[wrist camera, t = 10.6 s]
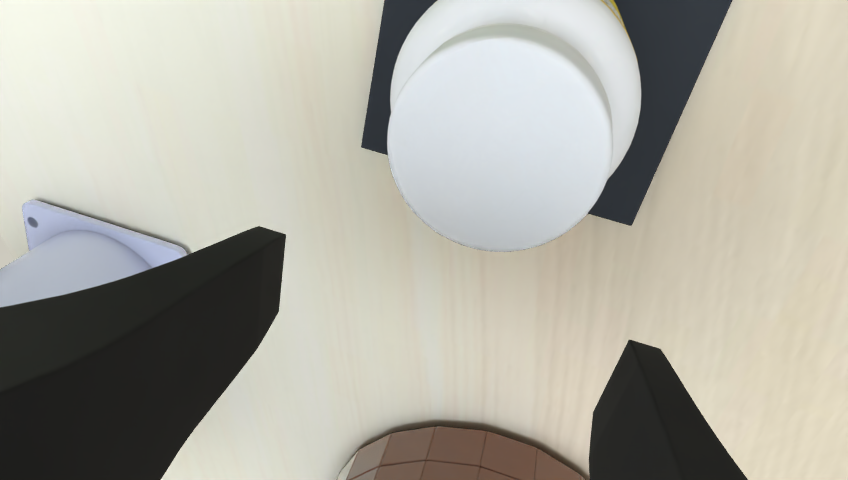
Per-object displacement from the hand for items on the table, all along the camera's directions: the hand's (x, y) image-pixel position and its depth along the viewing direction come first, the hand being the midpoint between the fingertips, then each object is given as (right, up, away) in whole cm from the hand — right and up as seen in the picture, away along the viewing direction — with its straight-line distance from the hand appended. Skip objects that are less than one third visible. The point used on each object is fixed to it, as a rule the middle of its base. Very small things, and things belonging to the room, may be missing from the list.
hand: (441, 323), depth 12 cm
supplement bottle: (+3, +8, +7) cm, 11 cm away
